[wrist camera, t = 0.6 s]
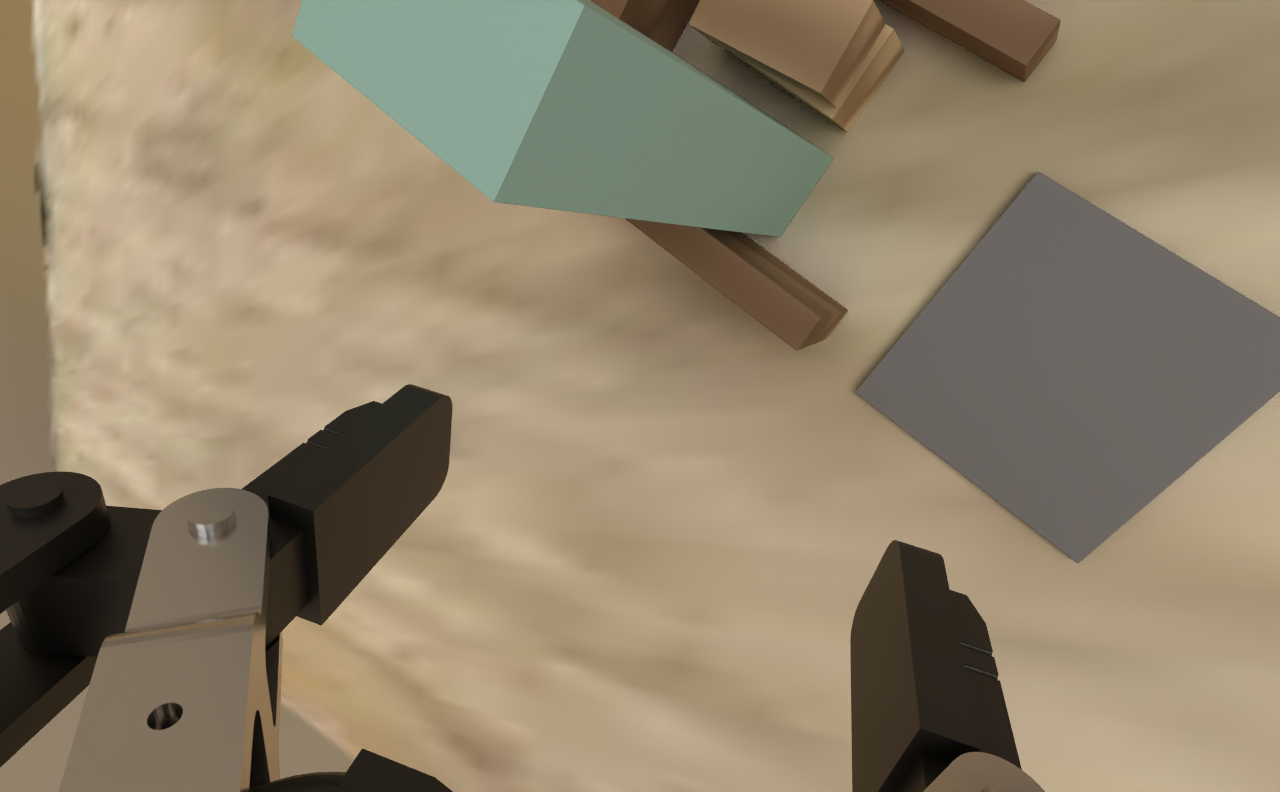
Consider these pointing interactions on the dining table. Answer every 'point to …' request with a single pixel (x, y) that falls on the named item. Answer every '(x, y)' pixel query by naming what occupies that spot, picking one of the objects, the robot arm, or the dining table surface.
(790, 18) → the offcut top
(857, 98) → the offcut low
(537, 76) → the tall teal pillar
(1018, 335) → the pad
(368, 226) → the dining table surface
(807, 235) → the dining table surface
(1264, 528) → the dining table surface
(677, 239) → the frame
